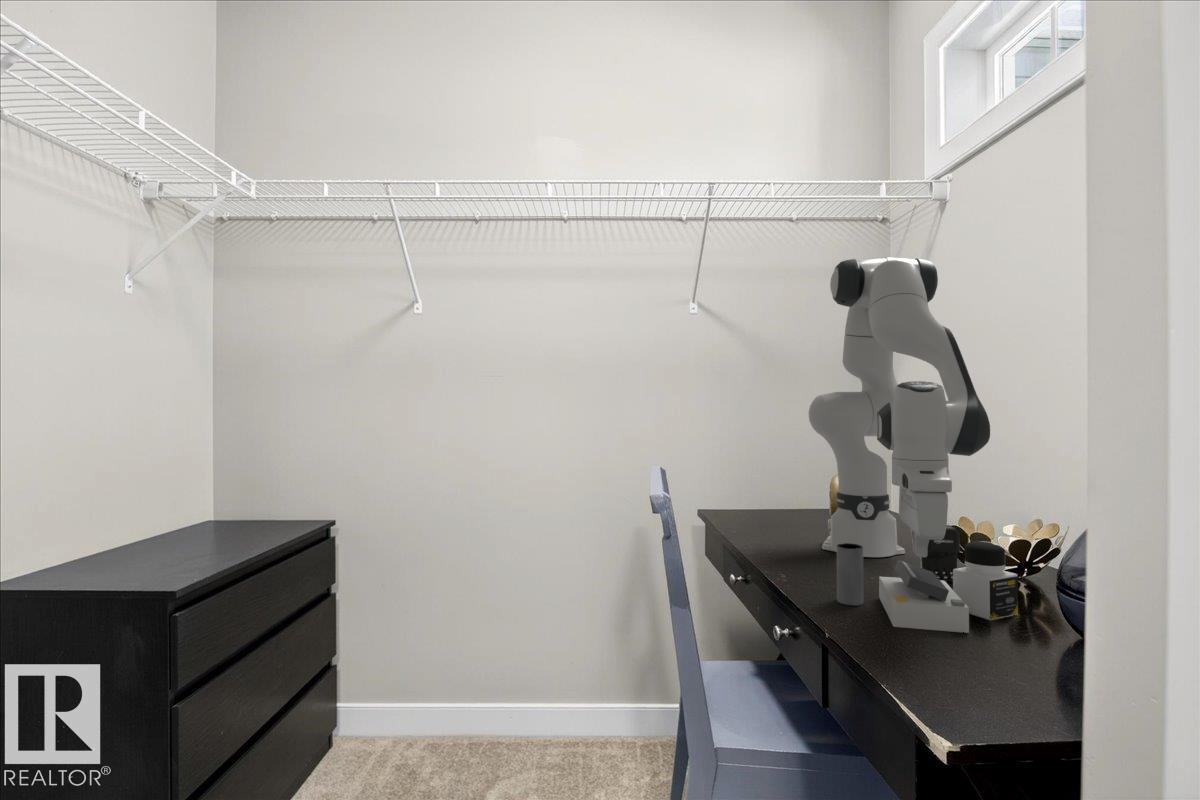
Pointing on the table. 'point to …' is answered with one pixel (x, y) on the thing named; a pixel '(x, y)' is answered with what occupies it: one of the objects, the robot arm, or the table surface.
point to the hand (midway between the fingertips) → (920, 555)
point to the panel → (922, 607)
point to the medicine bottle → (986, 582)
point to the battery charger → (943, 555)
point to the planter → (850, 574)
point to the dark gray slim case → (921, 580)
